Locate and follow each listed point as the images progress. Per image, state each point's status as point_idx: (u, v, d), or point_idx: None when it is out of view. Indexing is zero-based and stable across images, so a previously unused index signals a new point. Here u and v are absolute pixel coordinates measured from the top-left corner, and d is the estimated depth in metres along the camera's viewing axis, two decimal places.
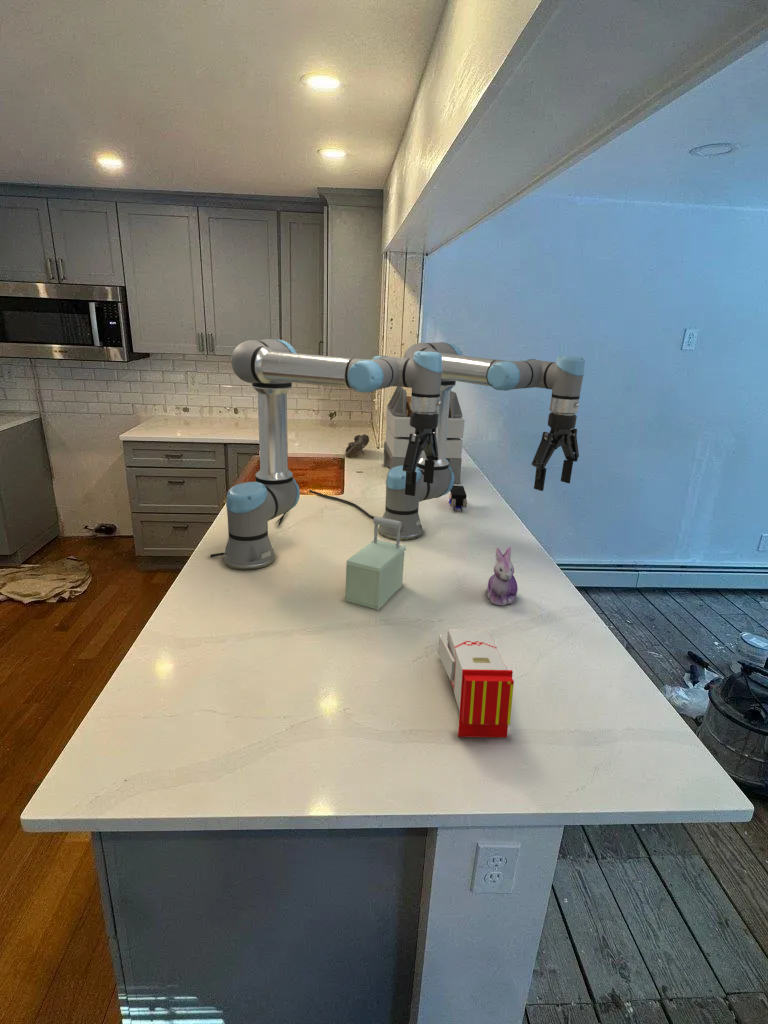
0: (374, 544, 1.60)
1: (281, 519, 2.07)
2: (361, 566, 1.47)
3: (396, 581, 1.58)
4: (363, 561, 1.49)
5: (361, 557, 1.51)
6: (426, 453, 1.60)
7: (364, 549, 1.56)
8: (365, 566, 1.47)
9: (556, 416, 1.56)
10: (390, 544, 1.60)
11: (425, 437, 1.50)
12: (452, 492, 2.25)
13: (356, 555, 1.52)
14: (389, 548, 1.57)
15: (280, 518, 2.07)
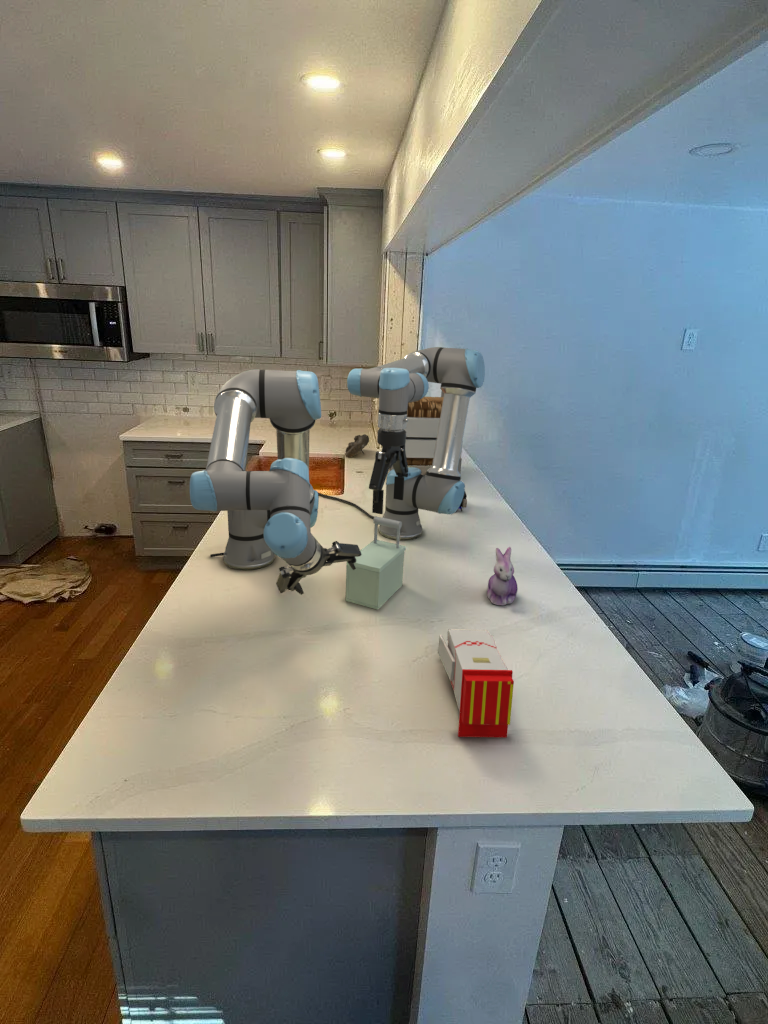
0: (374, 544, 1.60)
1: None
2: (361, 566, 1.47)
3: (396, 581, 1.58)
4: (363, 561, 1.49)
5: (361, 557, 1.51)
6: None
7: (364, 549, 1.56)
8: (365, 566, 1.47)
9: (387, 433, 1.45)
10: (390, 544, 1.60)
11: None
12: None
13: None
14: (389, 548, 1.57)
15: None
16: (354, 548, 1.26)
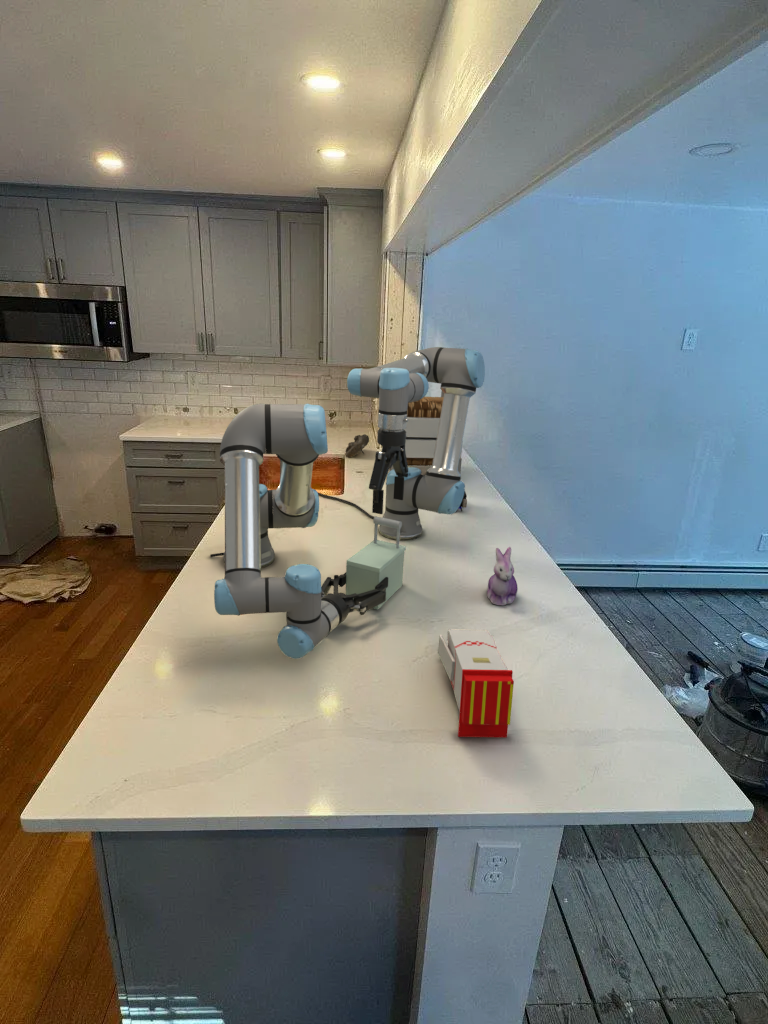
0: (374, 544, 1.60)
1: None
2: (361, 566, 1.47)
3: (396, 581, 1.58)
4: (363, 561, 1.49)
5: (361, 557, 1.51)
6: None
7: (364, 549, 1.56)
8: (365, 566, 1.47)
9: (387, 433, 1.45)
10: (390, 544, 1.60)
11: None
12: None
13: (356, 555, 1.52)
14: (389, 548, 1.57)
15: None
16: (380, 599, 1.41)
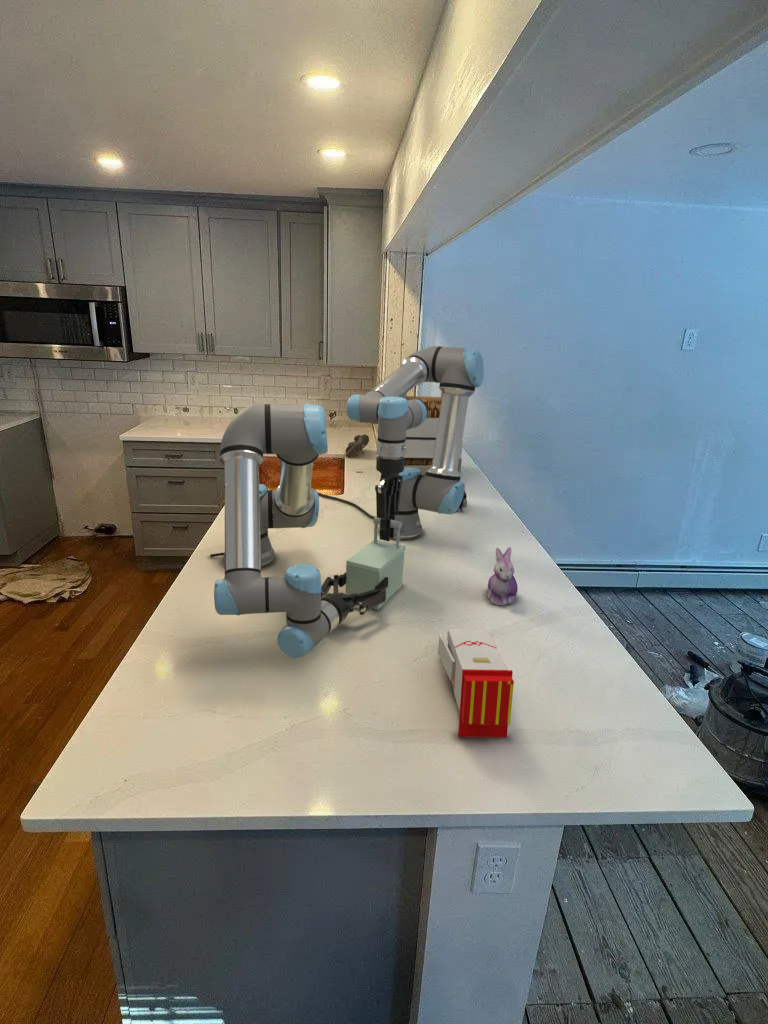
0: (374, 544, 1.60)
1: None
2: (361, 566, 1.47)
3: (396, 581, 1.58)
4: (363, 561, 1.49)
5: (360, 557, 1.51)
6: None
7: (364, 549, 1.56)
8: (365, 566, 1.47)
9: (385, 461, 1.48)
10: (390, 544, 1.60)
11: None
12: None
13: (356, 555, 1.52)
14: (389, 548, 1.57)
15: None
16: (380, 599, 1.41)
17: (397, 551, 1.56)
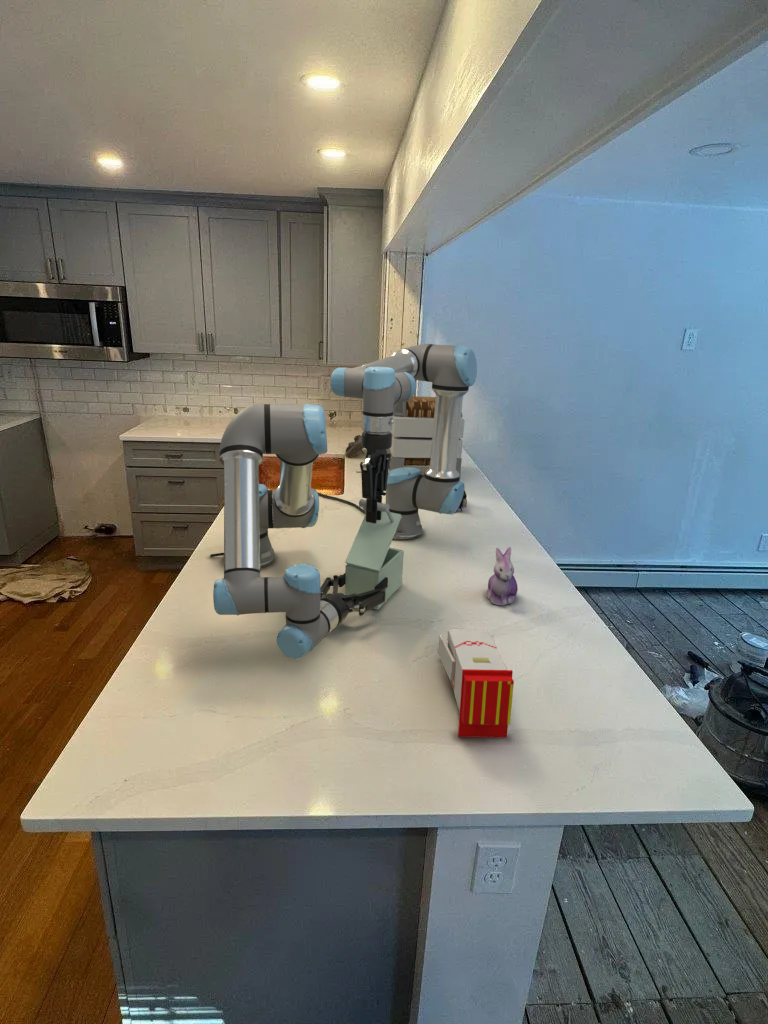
0: None
1: None
2: (360, 567, 1.47)
3: (396, 580, 1.58)
4: (361, 559, 1.47)
5: (358, 553, 1.49)
6: None
7: (359, 533, 1.52)
8: (364, 567, 1.46)
9: (371, 436, 1.37)
10: (384, 515, 1.53)
11: None
12: None
13: (353, 549, 1.50)
14: (384, 524, 1.51)
15: None
16: (380, 599, 1.41)
17: (393, 528, 1.50)
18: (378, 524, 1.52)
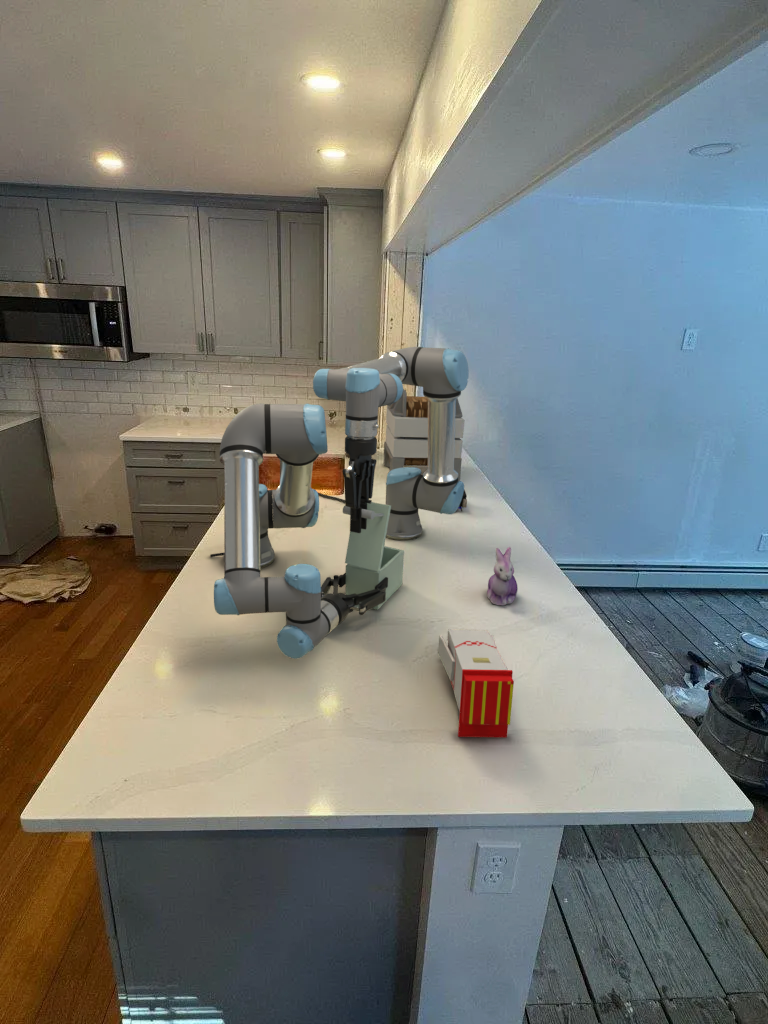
0: None
1: None
2: (360, 566, 1.47)
3: (396, 580, 1.58)
4: (359, 559, 1.47)
5: (355, 552, 1.47)
6: None
7: None
8: (364, 567, 1.46)
9: (354, 441, 1.30)
10: (373, 507, 1.45)
11: None
12: None
13: (349, 548, 1.48)
14: (375, 518, 1.45)
15: None
16: (380, 599, 1.41)
17: (384, 523, 1.44)
18: (369, 519, 1.45)
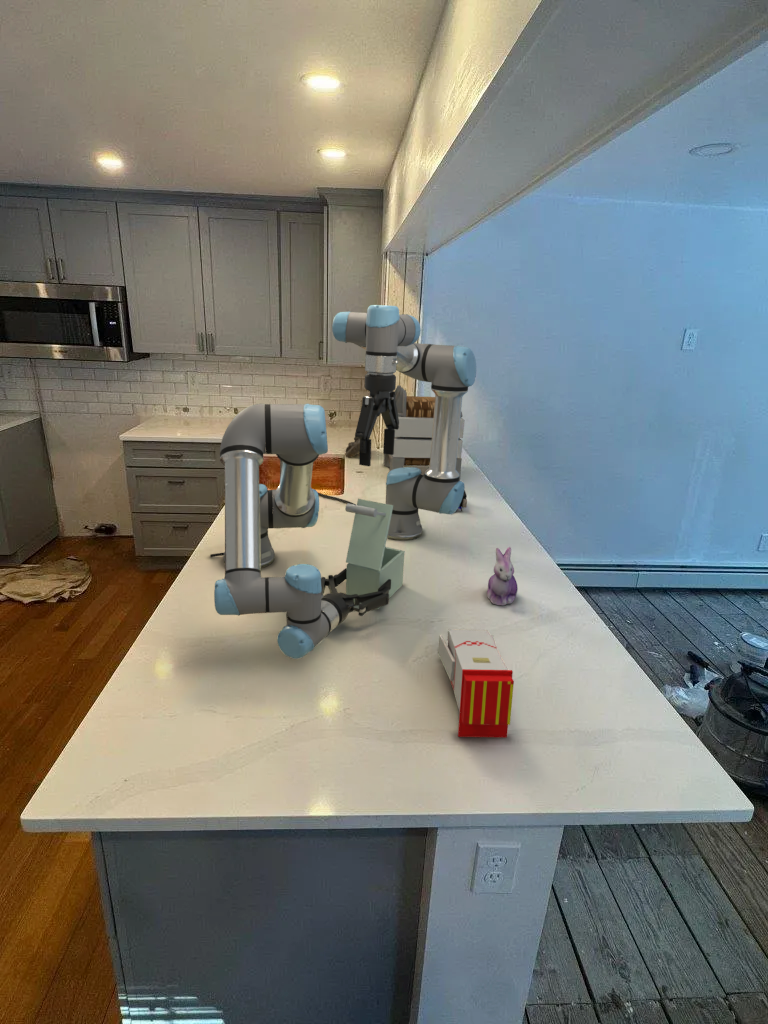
0: None
1: None
2: None
3: (396, 581, 1.58)
4: (360, 559, 1.47)
5: (356, 551, 1.48)
6: None
7: (354, 530, 1.48)
8: None
9: (375, 377, 1.33)
10: (375, 507, 1.46)
11: None
12: None
13: (351, 547, 1.48)
14: (377, 518, 1.46)
15: None
16: (382, 601, 1.40)
17: (386, 522, 1.45)
18: (371, 518, 1.47)
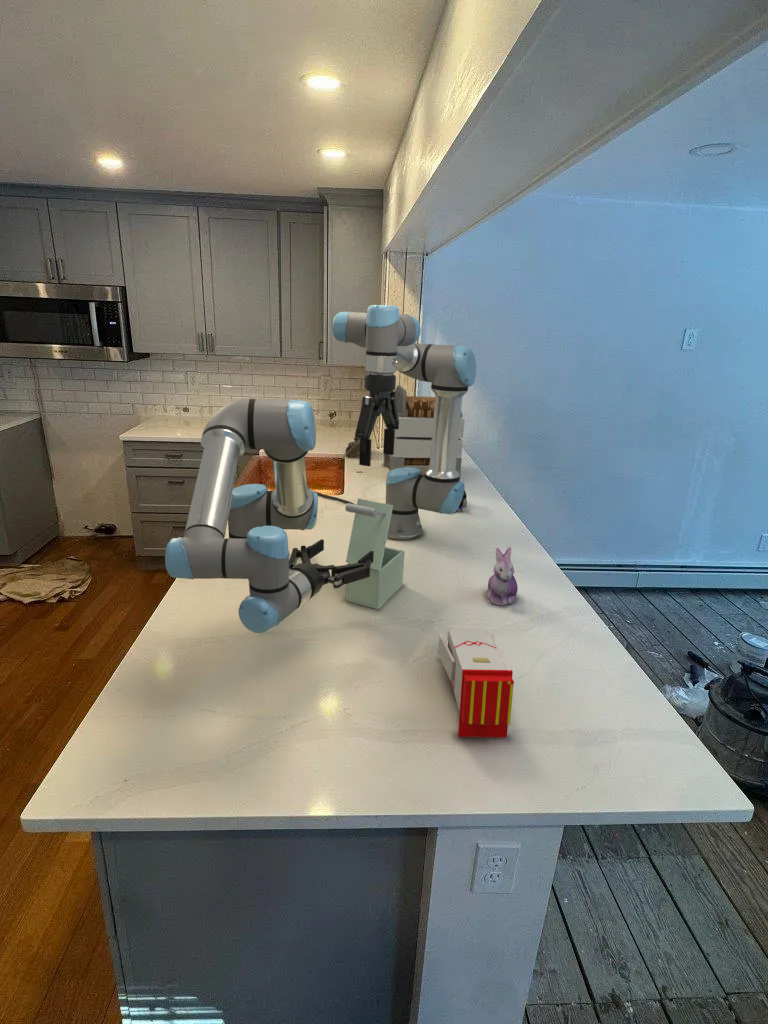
0: None
1: None
2: None
3: (396, 581, 1.58)
4: None
5: (356, 551, 1.48)
6: None
7: (354, 529, 1.48)
8: None
9: (375, 377, 1.33)
10: (375, 507, 1.46)
11: None
12: None
13: (351, 547, 1.48)
14: (377, 518, 1.46)
15: None
16: (362, 573, 1.25)
17: (386, 522, 1.45)
18: (371, 518, 1.47)
